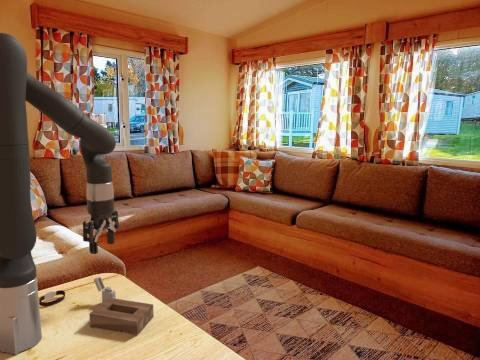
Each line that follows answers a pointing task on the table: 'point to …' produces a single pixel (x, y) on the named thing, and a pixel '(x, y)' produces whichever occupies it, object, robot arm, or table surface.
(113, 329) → the slot stand
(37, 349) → the table surface
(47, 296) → the watch
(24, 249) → the robot arm
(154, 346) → the table surface
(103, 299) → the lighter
